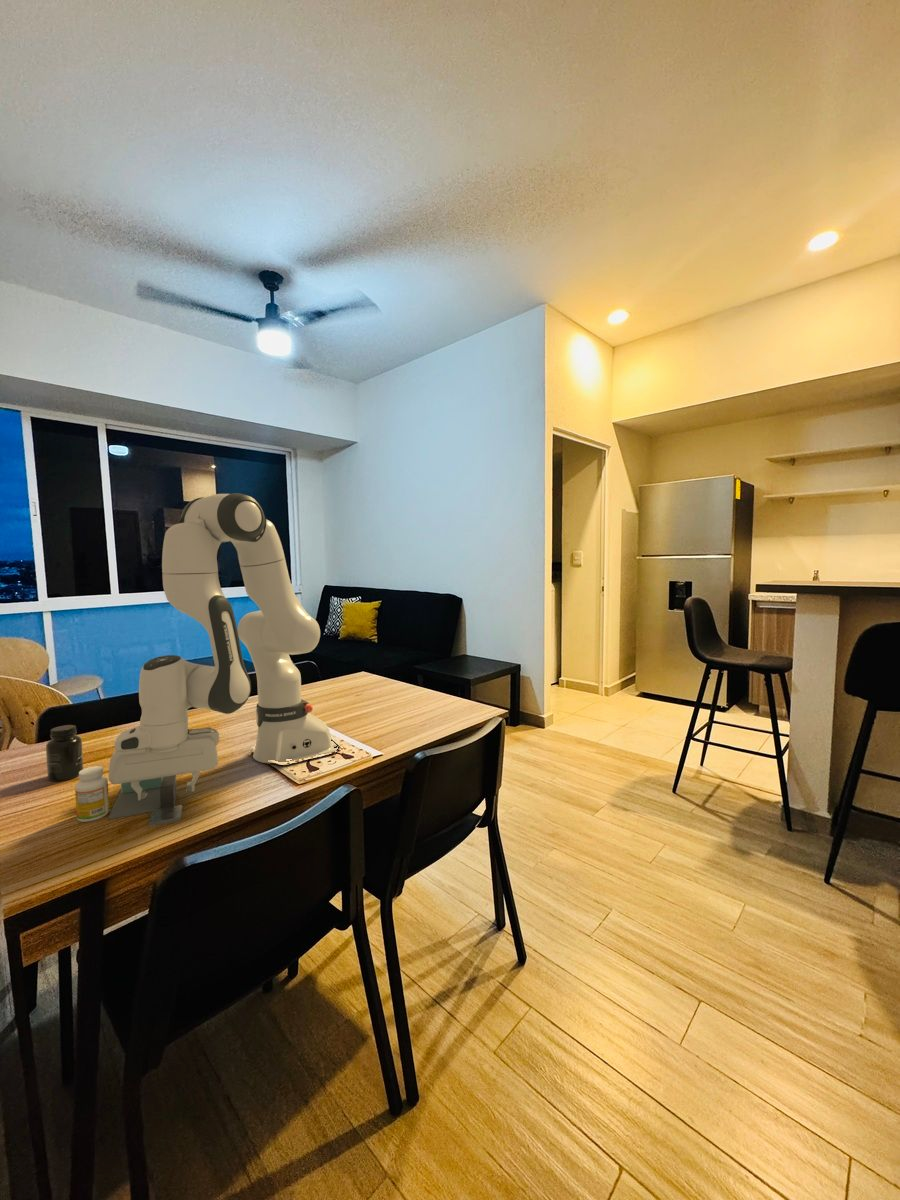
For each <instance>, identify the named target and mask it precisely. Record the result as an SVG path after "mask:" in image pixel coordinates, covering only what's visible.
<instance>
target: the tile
mask: <svg viewBox="0 0 900 1200" xmlns="http://www.w3.org/2000/svg"><path fill="white" fill-rule="evenodd" d="M162 780H163V777H161V778H154V779H148V780H141V781H140V783H139V785H140V786H141V787H142V789H151V788H157V787H161V784H162ZM120 790H121V793H127V792H133V791H135V790H134V789H133V788H132V787H131V782H128V783H121V784H120Z"/></svg>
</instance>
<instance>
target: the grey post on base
mask: <svg viewBox="0 0 900 1200" xmlns="http://www.w3.org/2000/svg"><path fill="white" fill-rule="evenodd" d="M177 790H178V789H177V775H174V776H167V777H163V780H162V784H161V787H160V802H161V807H160V809H156V810H152V812H151V813H150V817H149V820H148V827H149V826H152V827H154V826H153V825H157V826H160V825H159V824H162V825H166V823H167V824H172V823H177V822H181V818H182V813H183V804H179V805H176V802H177V798H178V793H177V792H178V791H177Z"/></svg>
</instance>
